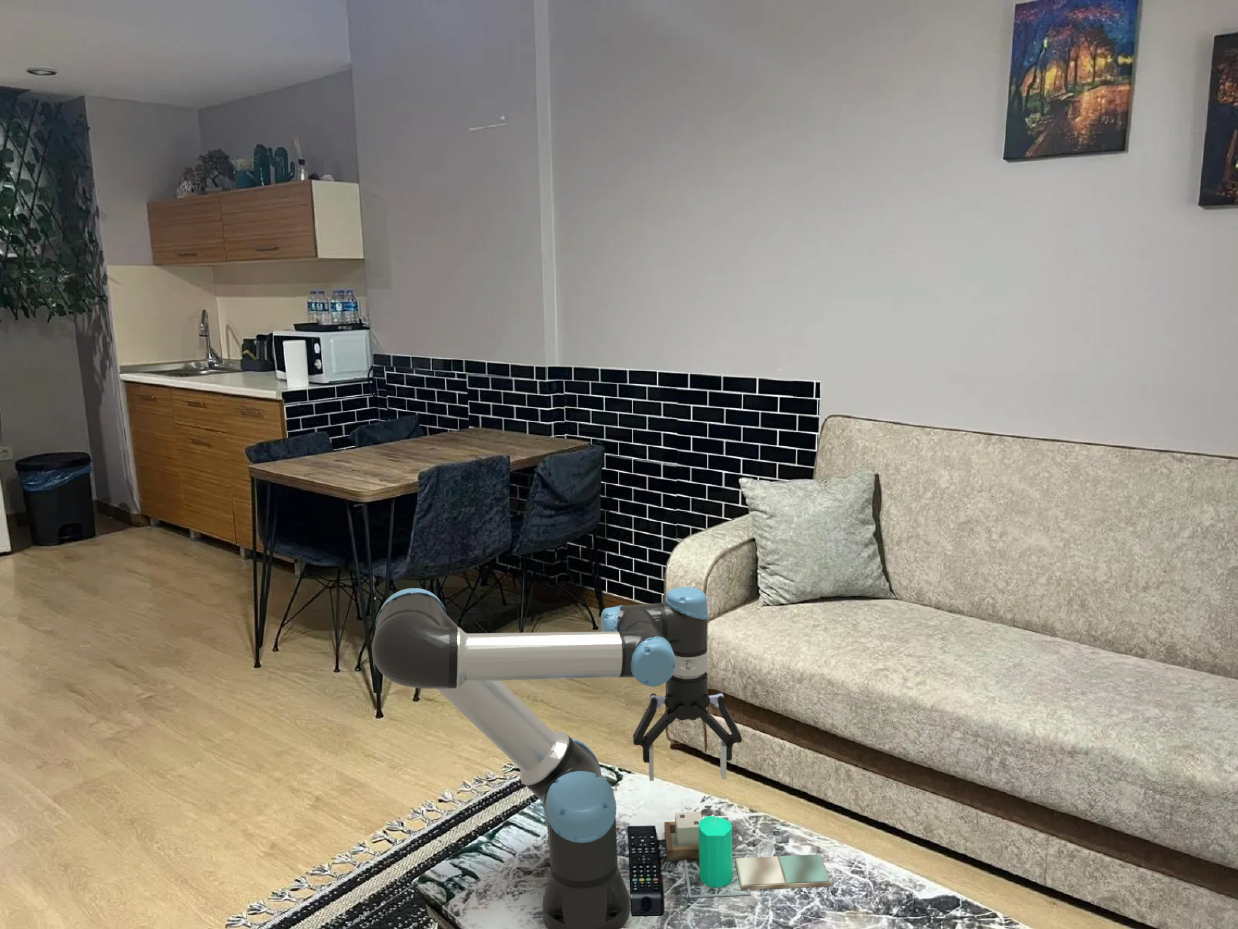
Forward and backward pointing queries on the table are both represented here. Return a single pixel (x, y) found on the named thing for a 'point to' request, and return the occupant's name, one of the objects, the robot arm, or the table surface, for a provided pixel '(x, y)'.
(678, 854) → the tray
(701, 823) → the candle
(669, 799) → the table surface
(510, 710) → the robot arm
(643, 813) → the table surface
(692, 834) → the die
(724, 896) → the pad
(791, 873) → the beige green flat slab
